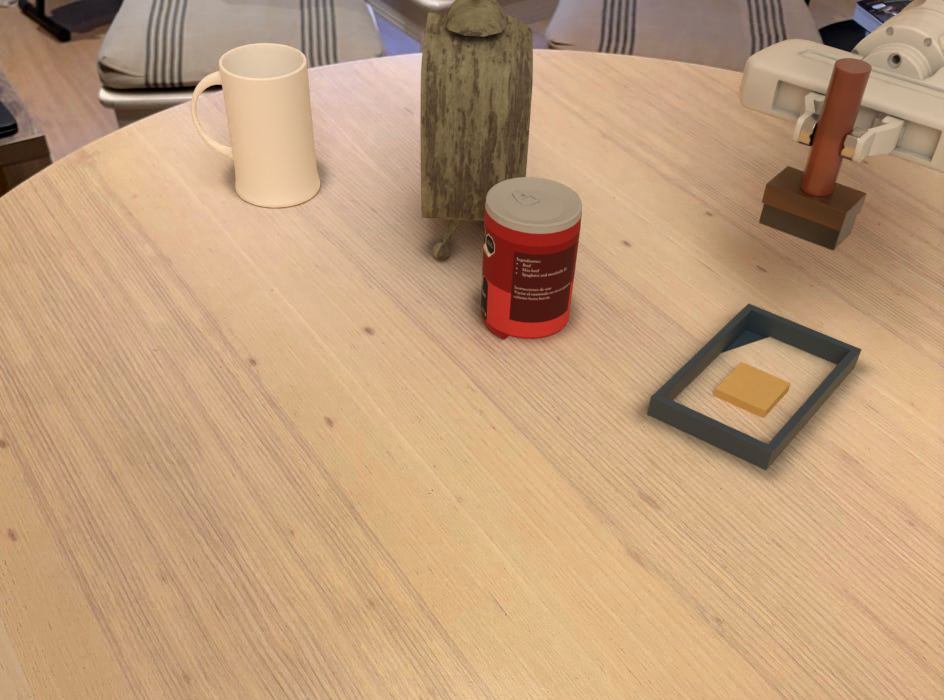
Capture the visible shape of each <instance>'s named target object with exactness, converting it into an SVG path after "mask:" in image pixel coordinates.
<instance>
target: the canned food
mask: <svg viewBox="0 0 944 700" xmlns="http://www.w3.org/2000/svg"><path fill="white" fill-rule="evenodd" d="M582 216H583V203H582V199H581V198H580V196H579V194H578V193H577V192H576V191H575V190H573V189H572V188H570V187H569V186H567V185H565V184H564V183H562V182H559V181H556V180H554V179H553V180H552V179H548V178H543V177H538V176H537V177H535V176H526V177H519V178H513V179H508V180H505V181H502V182H500V183H498V184H496V185H494V186H493V187H492V188H491V189H490V190H489V191H488V193H487V196H486V203H485V215H484V221H483V241H482V243H483V244H482V268H481V271H482V272H481V290H480V291H481V293H480V313H481V315H482V320H483V322H484V325H485V326H486V328H487V329H488V330H489V331H490V332H491V333H492V334H493V335H496V336H497V337H498V338H501V339H502V340H506V339H508V337H511V338H512V337H513V338H516V339H525V340H535V339H543V338H548V337H550V336H553V335H555V334H557V333H559V332H561V331H562V330H563V329H564V328H565V327H566V326H567V324H568V322H569V318H570V314H571V313H570V312H571V305H572V297H573V289H574V282H575V273H576V267H577V266H576V265H577V260H578V259H577V258H578V249H579V244H580V243H579V242H580V234H581V226H582Z"/></svg>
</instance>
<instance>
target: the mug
mask: <svg viewBox="0 0 944 700" xmlns="http://www.w3.org/2000/svg"><path fill="white" fill-rule="evenodd" d="M218 69H219V70H217V71H214V72H211V73H209V74H207V75H206V76H205V77H203V78H202V79H201V80H200V81H199V82H198V83H197V85H196V86H195V88H194V90H193V92H192V95H191V101H190V113H191V114H190V115H191V118H192V122H193V126H194V127H195V129H196V132H197V133H198V135H199V136H200V138H201V139H202V141H203V142H204V143H205V144H206V145H207V147H209V148H210V149H211V150H213V151H214V152H216V153H217V154H219V155H220V156H222V157H225V158H228V159H229V160H233V165H234V175H235V181H234V189H235V191H236V194H237V195H238V197H240V198H241V199H242V200H243V201H244V202H247V203H248V204H251V205H253V206H256V207H257V206H258V207H263V208H269V209H270V208H273V209H281V208H289V207H294V206H298V205H301V204H304V203H306V202H308V201H310V199H312V198H314V197H315V196H316V195H317V194H318V192H319V191H320V189H321V178H320V175H319V172H318V167H317V166H318V165H317V156H316V147H315V145H316V144H315V136H314V135H315V134H314V124H313V114H312V113H313V112H312V103H311V93H310V92H311V91H310V81H309V70H308V60H307V56H306V55H305V54H304V53H303V52H302V51H301V50H300V49H297V48H296V47H294V46H293V47H292V46H290V45H286V44H281V43H272V42H259V43H258V42H257V43H249V44H245V45H240V46H237V47H234V48H232V49H230V50H228V51H226V52H225V53H223V54H222V55H221V56H220V57H219V60H218ZM216 85H219V86H221V87H222V88H221V89H222V94H223V100H224V107H225V114H226V120H227V127H228V133H229V139H230V140H229V141H230V145H224V144H222V143H220V142H218V141H217V140H214V139H213V138H212V137H211V136H210V135H209V134H208V133H207V132H206V130H205V129H204V128H203V126H202V124H201V122H200V119H199V117H198V112H197V111H198V110H197V107H198V100H199V98H200V96H201V94H202V93H203V92H204V91H205V90H207V88H210V87H211V86H216Z"/></svg>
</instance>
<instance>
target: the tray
mask: <svg viewBox="0 0 944 700" xmlns="http://www.w3.org/2000/svg"><path fill="white" fill-rule="evenodd" d="M767 338H772V339H774V340H776V341H779V342H781V343H783V344H786V345H788V346H791V347H793V348H796V349H798V350H800V351H803V352H805V353H808V354H809V355H812V356H814V357H817V358H820V359H822V360H824V361H827V362H829V363H831V364H834V365H836V366H835V367H834V369H833V370H832V371H830V373H828V375H827V376H826V377H825V379H823V381H822V382H821V383H820V384H819V386H818V387H817V388H816V389H815V390H814V391H813V392H812V393H811V394H810V396H809V397H808V398H807V399H806V400H805V401H804V402H803V403H802V405H801V406H800V407H799V408H798V409H797V410H796V411H795V412H794V414H793V415H792V416H791V417H790V418H789V419H788V420H787V422H786V423H785V424H784V425H783V426H782V427H781V429H779V431H777V433H775V435H774V436H773V438H772V439H771V440H770V441H769V442H768V443H766V442H764V441H762V440H760V439H758V438H756V437H753V436H751V435H749V434H747V433H745V432H743V431H741V430H738V429H736V428H733V427H731V426H730V425H727V424H725V423H723V422H722V421H719V420H716V419H714V418H712V417H710V416H707V415H705V414H704V413H702V412H699V411H698V410H695V409H693V408H690V407H688V406H686V405H684V404H682V403H679V402H677V401H675V399H676V398H677V397H678V396H679V395H680V394H681V393H682V392H683V391H684V390H685V389H686V388H687V387H688V386H689V385H690V384H691V383H692V382H693V381H695V380H696V378H697V377H698V376H699V375H700V374H702V373H703V372H704V370H705V369H706V368H707V367H709V366H710V364H711V363H713V362H714V361H715V360H716V359H717V358H718V357H719V356H720V355H721V354H724V353H726V352H730V351H732V350H736V349H738V348H741V347H744V346H747V345H750V344H753V343H755V342H759V341H763V340H764V339H767ZM861 352H862V349H861V348H859V347H858V346H855V345H852V344H850V343H847V342H845V341H842V340H841V339H840V340H839V339H837V338H835V337H832V336H830V335H828V334H825V333H822V332H821V331H818V330H816V329H812V328H810V327H808V326H806V325H803V324H800V323H798V322H795V321H793V320H790V319H788V318H786V317H784V316H780V315H778V314H776V313H773V312H771V311H768V310H766V309H764V308H761V307H759V306H756V305H754V304H752V303H747V304H746V305H745V306H744V307H743V308H741V310H740V311H739V312H738V313H737V314H735V316H734V317H733V318H732V319H731V320H729V321H728V322H727V323H726V324H725V325H724V326H723V327H722V328H721V329H720V330H719V331H718V332H717V333H716V334H715V335H714V336H713V337H712V338H711V339H710V340H709V341H707V342H706V344H704V345H703V346H702V347H701V348H700V349H699V350H698V351H697V352H696V353H695V354H694V355H693V356H692V357H691V358H689V360H688V361H687V362H686V363H685V364H684V365H683V366H681V368H680V369H678V370H677V372H675V373H674V374H673V375H672V376H671V377H670V378H669V379H668V380H667V381H666V382H665V383H664V384H663V385H662V386H661V387H659V389H657V391H655V392H654V393H653V394H652V395H651V397H650V400H649V405H648V410H647V414H646V415H647V416H649V417H651V418H653V419H655V420H658V421H660V422H662V423H664V424H666V425H668V426H671V427H673V428H674V429H676V430H679V431H681V432H683V433H685V434H687V435H690V436H692V437H694V438H696V439H698V440H700V441H703V442H704V443H707V444H708V445H711V446H713V447H715V448H717V449H719V450H721V451H723V452H726V453H728V454H730V455H732V456H734V457H736V458H739V459H741V460H742V461H744V462H746V463H749V464H751V465H753V466H755V467H758V468H760V469H762V470H764V471H767V470H768V469H769V468H770V466H771V465H772V464H773V463H774V462H775V461H776V460H777V459H778V457H779V456H780V455H781V454H782V453H783V452H784V450H785V449H786V448H787V447H788V446H789V445H790V443H791V442H793V440H794V439H795V438H796V436H797V435H798V434H799V433H800V432H801V430H803V428H804V427H805V426H806V425H807V423H808V422H809V421H810V420H811V419H812V418H813V417H814V416H815V414H816V413H817V412H818V411H819V410H820V409H821V408H822V407H823V405H824V404H825V403H826V402H827V400H828V399H829V398H830V397H831V396H832V395H833V393H834V392H835V391H836V390H837V389H838V387H840V385H841V384H842V383H843V381H844V380H845V379H847V377H848V376H849V375H850V374H851V372H852V371H853V370H854V369H855V368H856V365H857V362H858V360H859V357H860V355H861Z"/></svg>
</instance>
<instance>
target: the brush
mask: <svg viewBox="0 0 944 700" xmlns="http://www.w3.org/2000/svg"><path fill="white" fill-rule="evenodd" d="M871 70H872V67H871V65H870V64H869V63H867V62H865V61H863V60H859V59H854V58H843V59H839V60H837V61H836V62H835V64H834V67H833V71H832V74H831V78H830V81H829V85H828V88H827V92H826V95H825V99H824V102H823V106H822V109H821V113H820V116H819V120H818V123H817V127H816V130H815V134H814V137H813V141H812V144H811V146H810V148H809V151H808V154H807V159H806V161H805V166H804V169H803V170H801V169H798V168H795V167H792V166H790V165H787V166H786V167H785V168H783V169H781V171H780V172H778V173H777V174H776V175H775V176H774V177H773V178H771V179H770V180H769V181H768V182H767V183H766V184H765V187H764V192H763V195H762V200H761V203H762V205H763V206H762V209H761V212H760V217H759V221H758V223H759V224H760V225H763V226H766V227H769V228H771V229H774V230H777V231H779V232H782V233H785V234H787V235H790V236H793V237H795V238H798V239H800V240H804V241H806V242H807V243H808V242H809V243H811V244H813V245H816V246H819V247H821V248H825V249H827V250H830V251H835V250H836V249H837V248H838V247H840V245H841V244H842V243H843V242H844V241H845V240H846V239H847V238H848V237H849V236H850V235H851V233H852V231H853V228H854V225H855V222H856V219H857V216H858V215H859V214H860V213H861V212H862V209H863V205H864V202H865V200H866V197H867V193H866V192H864V191H862V190H860V189H857V188H853V187H850V186H847V185H844V184H842V183H838V182H837V181H838V177H839V174H840V172H841V168H842V165H843V162H844V159H845V158H842V157H840V154H841V151H842V149H844V141H845V139H846V136H847V135H848V133H849V132H852V130H853V127H854V124H855V121H856V118H857V115H858V111H859V108H860V105H861V102H862V99H863V95H864V92H865V89H866V86H867V83H868V80H869V76H870V73H871Z"/></svg>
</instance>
